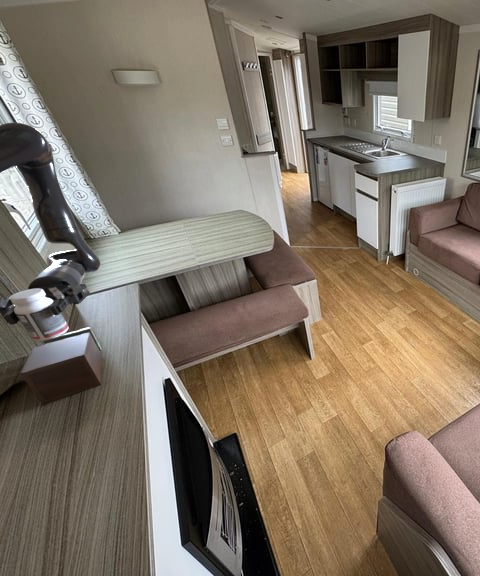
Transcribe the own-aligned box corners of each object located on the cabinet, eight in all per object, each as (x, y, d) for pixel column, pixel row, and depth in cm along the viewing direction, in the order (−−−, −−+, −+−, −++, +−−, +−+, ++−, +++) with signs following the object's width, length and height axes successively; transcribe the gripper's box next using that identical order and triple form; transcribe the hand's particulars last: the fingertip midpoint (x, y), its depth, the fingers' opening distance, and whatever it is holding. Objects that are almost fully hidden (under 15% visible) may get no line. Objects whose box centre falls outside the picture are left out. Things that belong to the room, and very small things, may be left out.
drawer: (58, 358, 76) (45, 336, 73) (102, 346, 81) (90, 324, 78) (50, 383, 69) (34, 359, 66) (98, 367, 73) (85, 344, 70)
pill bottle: (73, 323, 69) (51, 284, 64) (64, 337, 64) (39, 296, 60) (39, 330, 66) (14, 290, 62) (27, 344, 62) (-2, 302, 57)
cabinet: (52, 376, 72) (33, 347, 68) (104, 360, 77) (89, 332, 73) (42, 404, 64) (20, 373, 60) (101, 384, 69) (84, 354, 65)
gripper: (6, 277, 68) (-33, 309, 56) (89, 264, 75) (71, 290, 62) (24, 305, 72) (-9, 342, 59) (102, 290, 79) (88, 320, 66)
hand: (32, 315), depth 61 cm, fingers closed on pill bottle, 5 cm apart
